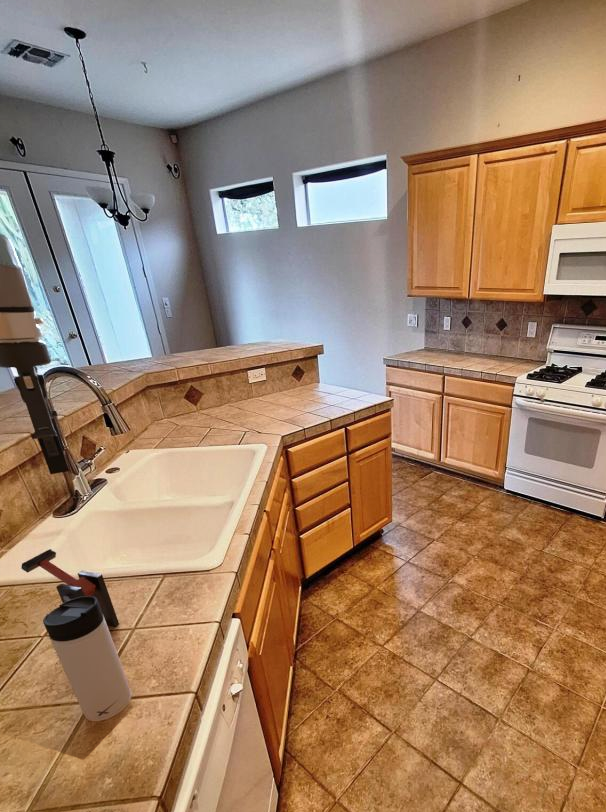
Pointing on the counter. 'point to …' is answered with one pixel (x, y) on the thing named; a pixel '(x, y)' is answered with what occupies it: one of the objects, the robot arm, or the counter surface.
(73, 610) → the travel mug
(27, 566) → the lever
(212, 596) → the counter surface
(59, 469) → the robot arm
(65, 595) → the bracket
